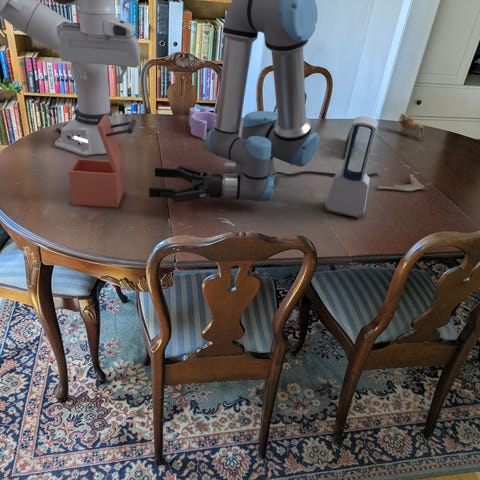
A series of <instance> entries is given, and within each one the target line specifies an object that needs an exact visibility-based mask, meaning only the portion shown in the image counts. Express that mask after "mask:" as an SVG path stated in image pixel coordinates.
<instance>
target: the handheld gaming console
mask: <svg viewBox="0 0 480 480" xmlns="http://www.w3.org/2000/svg"><path fill="white" fill-rule="evenodd" d="M352 125H353V123H352V124H351V127H350V129H349V131H348V133H347V135H346V136H347V137H346V141H345V146H344V150H343V154H342V158H343V159H345V155H346V151H347V146H348V142H349V138H350V133H351V129H352ZM359 129H360V126H359V127H357V131H356V136H355V140H354V144H353V147H354V145H355V144H356V141H357V136H358V133H359Z"/></svg>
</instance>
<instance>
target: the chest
mask: <svg viewBox="0 0 480 480" xmlns="http://www.w3.org/2000/svg"><path fill="white" fill-rule="evenodd" d="M68 178H69V186H70V195H71V204H72V205H74V206H90V207H91V206H92V207H105V208H119V206H120V203H121V201H122V197H123V195H124V180H123V163H122V164H121V166H120V169H119V171H118V172H116V173H114V172H113V169H112V167H111V164H110V161H109V160H103V159H91V158H77V159H76V160H75V161H74V162H73V165H72V166H71V168H70V169H69V170H68Z"/></svg>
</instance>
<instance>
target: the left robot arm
mask: <svg viewBox="0 0 480 480" xmlns="http://www.w3.org/2000/svg"><path fill="white" fill-rule="evenodd" d="M53 1H54V2H55V3H56V4H58V5H63V6H78V19H79V22H75V21H72V20H71V19H68V18H66V17H65V16H63V15H61V14H60V13H58V12H56V11H54V10H53V9H51V8H50V7H48V6H47V5H46V4H44V3H42V2H41V1H39V0H0V17H1V18H2V19H4V20H5V21H6V22H7V23H8V24H10V25H11V26H12V27H14V28H15V29H17V30H18V31H20V32H21V33H23V34H25V35H26V36H28V37H30V38H31V39H33V40H35V42H38V43H40V44H41V45H43V46H45V47H46V48H48V49H50V50H54V51H57V52H58V57H59V58H60V60H61V61H63V62H67V63H69V62H70V64H71V70H72V75H73V79H74V83H75V88H76V90H75V91H76V99H77V108H76V109H75V110H74V111H71V115H72V116H74V115H75V116H74V118H73V119H72V120H71V121H69V122H68V123H67V122H66V123H64V124H63V126H62V128H61V129H60V128H58V127H56V128H55V130H56V131H57V132H59V133H60V137H59V138H57V139H56V140H55V142H54V146H55V147H57V148H59V149H62V150H65V151H69V152H72V153H74V154H78V155H80V156H84V157H85V156H86V157H87V156H92V155H105V154H107V153H106V150H105V148H104V145H103V142H102V139H101V137H100V134H99V131H98V128H97V126H98V124H99V123H100V121H101V119H102V118H103V116H104V115H109V118H110V121H111V124H112V125H113V111H112V109H111V97H110V86H109V81H108V72H107V66H114V67H116V66H117V67H120V68H119V70H120V71H121V73H120V74H117V75H116V76H115V77H116V79H115V80H116V84H123V83H124V75H125V74H126V72H127V70H128V68H137V67H138V66H140V64H141V50H140V44H139V43H140V42H139V40H138V38H137V36H135V32H136V28H135V25H134V24H132V23H130V22H128V21H126V20H123V19H121V18H118V17H117V12H116V11H117V10H116V7H115V3H114V2H115V0H53Z"/></svg>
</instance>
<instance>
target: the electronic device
mask: <svg viewBox="0 0 480 480" xmlns="http://www.w3.org/2000/svg"><path fill="white" fill-rule="evenodd" d="M352 124H353V125H352ZM352 124H351V127H352V129H351V128H350V129H351V133H350V138H349V142H348V146H347V151H346V155H345V158H344V161H343V164H342V168H341V169H338V170H337V171H336V173H335V174H336V175H335V176H334V177H333V180H332V182H331V186H330V188H329V192H328V195H327V197H326V201H325V203H324V208H325V210H326V211H327V212H330V213H334V214H339V215H343V216H347V217H350V218H351V217H352V218H356V219H360V218H362V217H363V216H364V215H365V211H366V206H367V201H368V194H369V187H370V181H371V180H370V179H371V177H370V176H368V175H367V174H368V173H366V170H367V167H368V163H369V160H370V159H369V158H370V155H371V151H372V147H373V144H374V140H375V136H376V133H377V129H378V124H379V121H378V120H376V119H375V118H372V117H370V116H361V115H359V116H356V117H355V118H354V120H353V122H352ZM357 127H359V128H360V127H362V128H367V129H369V130H370V133H369V138H368V141H367V145H366V150H365V154H364V157H363V161H362V164H361V169H360V171H354V170H351V169H349V166H350V162H351V161H350V160H351V156H352V153H353V148H354V146H353V144H354V145H355V143H354V140H355V136H356V131H357ZM356 137H357V136H356ZM355 141H356V140H355Z"/></svg>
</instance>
